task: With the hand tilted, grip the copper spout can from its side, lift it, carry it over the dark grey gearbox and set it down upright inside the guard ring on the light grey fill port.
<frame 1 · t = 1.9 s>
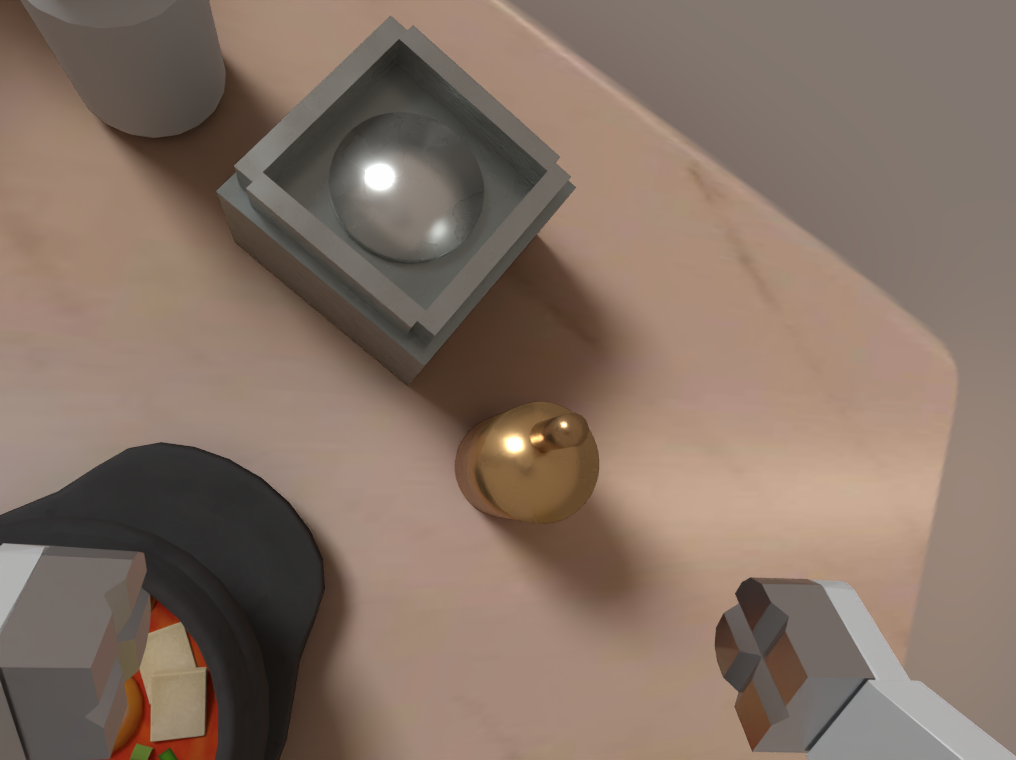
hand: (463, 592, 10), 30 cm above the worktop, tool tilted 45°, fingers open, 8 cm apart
can: (155, 81, 39), on the worktop
gearbox: (394, 237, 41), on the worktop
casserole: (93, 691, 35), on the worktop
spout can: (504, 466, 41), on the worktop
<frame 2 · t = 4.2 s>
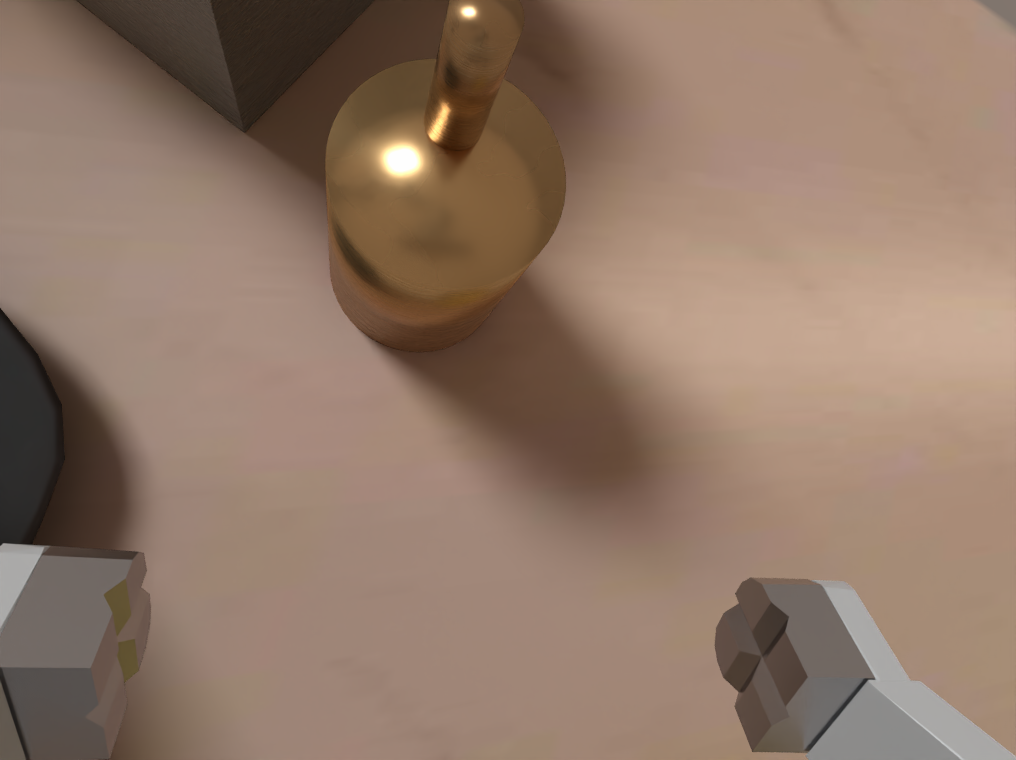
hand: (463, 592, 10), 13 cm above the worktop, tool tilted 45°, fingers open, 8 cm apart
spout can: (416, 269, 24), on the worktop
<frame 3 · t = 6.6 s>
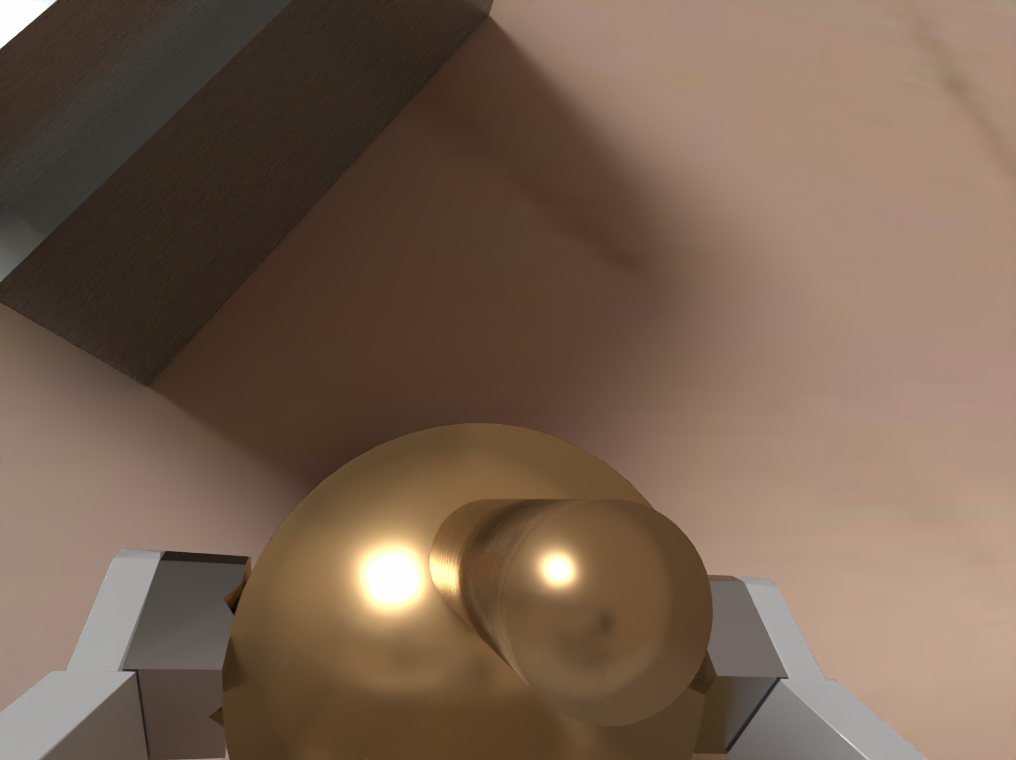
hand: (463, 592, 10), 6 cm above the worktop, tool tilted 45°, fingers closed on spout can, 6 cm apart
gearbox: (116, 8, 16), on the worktop
spout can: (416, 588, 15), on the worktop, touching gripper
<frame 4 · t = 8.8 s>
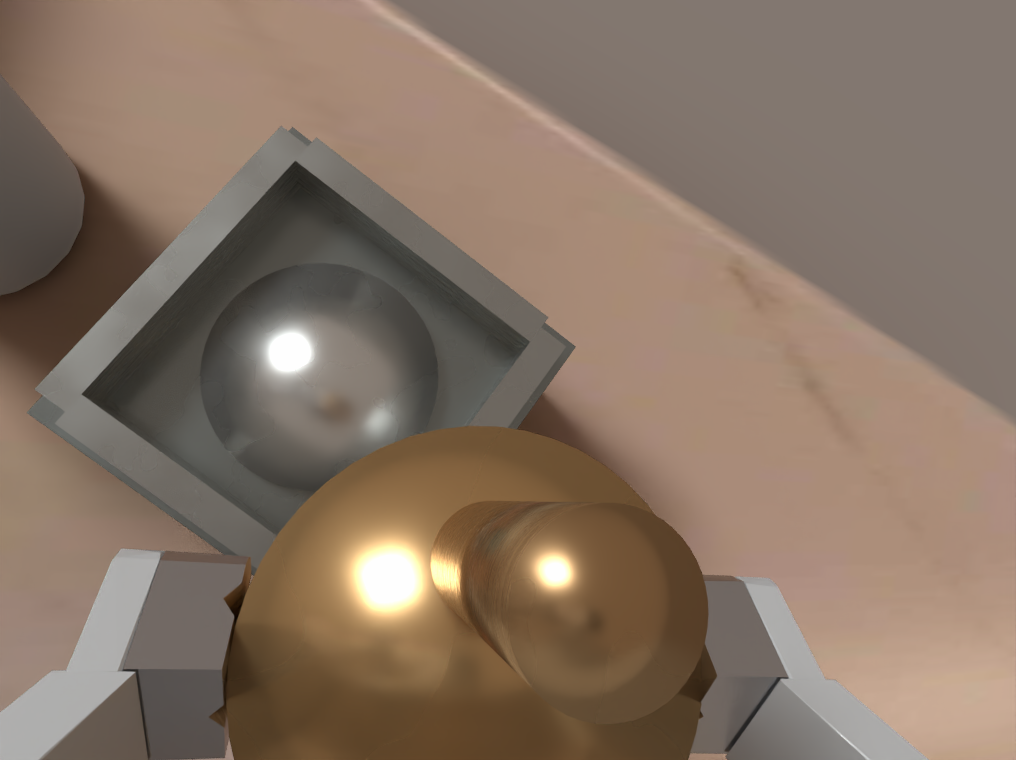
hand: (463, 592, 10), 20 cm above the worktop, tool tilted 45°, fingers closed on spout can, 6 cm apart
gearbox: (330, 403, 30), on the worktop
spout can: (416, 588, 16), point 14 cm above the worktop, touching gripper
when the fingers open (14 cm above the worktop, at t = 11.0 s): spout can stays where it is, resting on gearbox.
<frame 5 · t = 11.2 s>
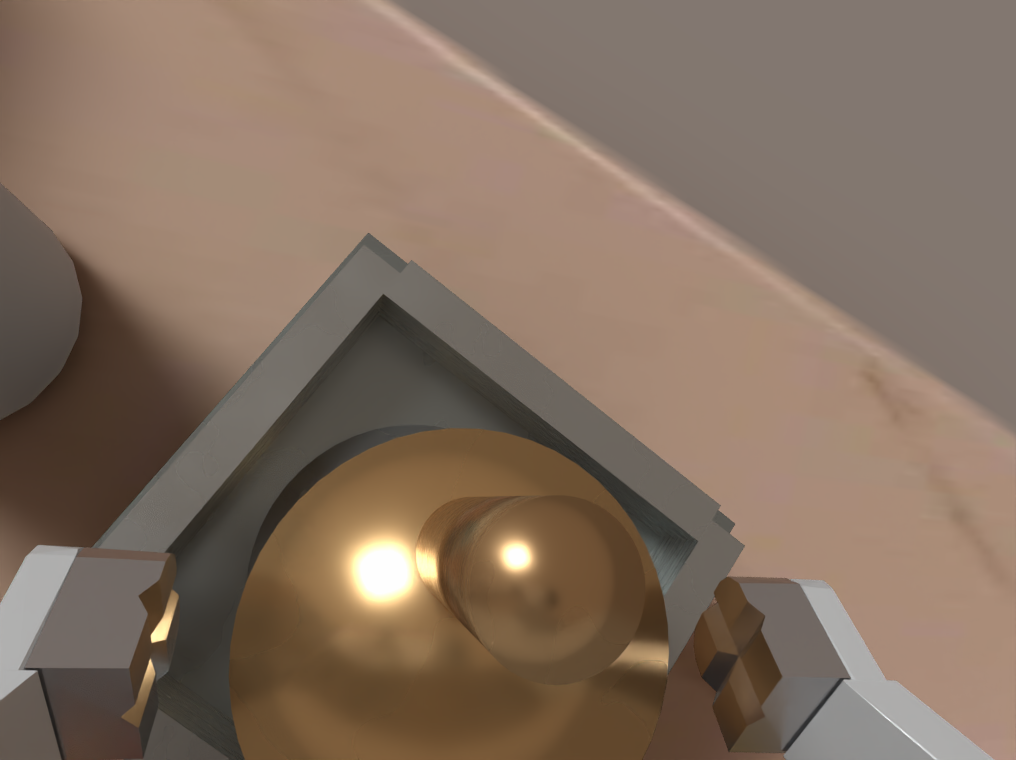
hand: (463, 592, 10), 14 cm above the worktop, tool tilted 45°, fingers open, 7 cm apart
gearbox: (391, 557, 24), on the worktop
spout can: (409, 582, 16), point 8 cm above the worktop, touching gearbox
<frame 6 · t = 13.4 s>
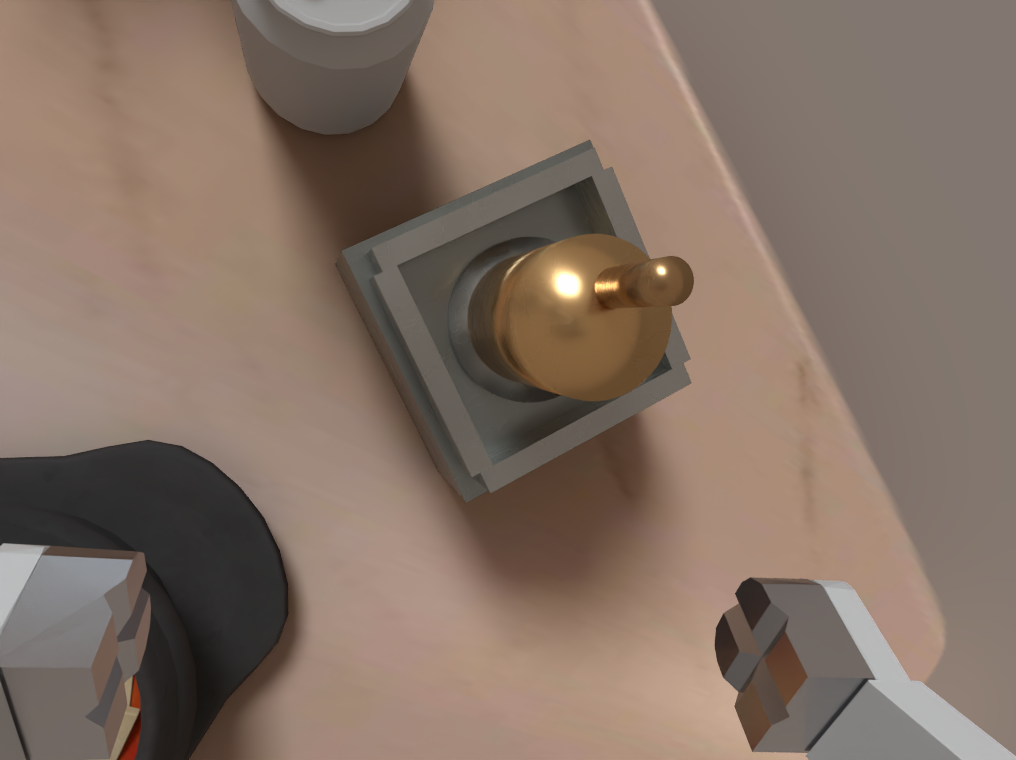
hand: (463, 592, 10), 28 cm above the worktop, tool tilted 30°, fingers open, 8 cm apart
can: (325, 62, 36), on the worktop
gearbox: (489, 320, 39), on the worktop
casserole: (22, 644, 34), on the worktop
spout can: (530, 319, 32), point 8 cm above the worktop, touching gearbox
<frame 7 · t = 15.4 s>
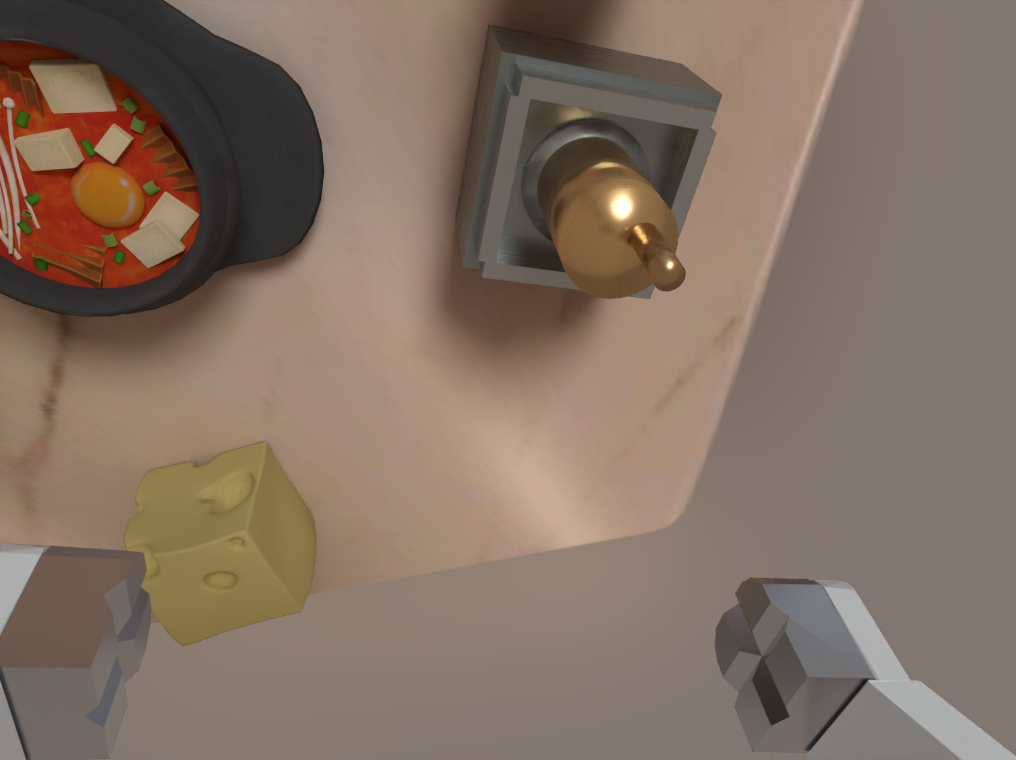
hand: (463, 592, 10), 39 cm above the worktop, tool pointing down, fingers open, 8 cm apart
gearbox: (563, 144, 46), on the worktop
casserole: (110, 135, 43), on the worktop
spout can: (587, 187, 40), point 8 cm above the worktop, touching gearbox
cheese: (238, 493, 61), on the worktop
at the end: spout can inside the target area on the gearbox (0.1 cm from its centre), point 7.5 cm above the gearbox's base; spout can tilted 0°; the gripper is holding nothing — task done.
